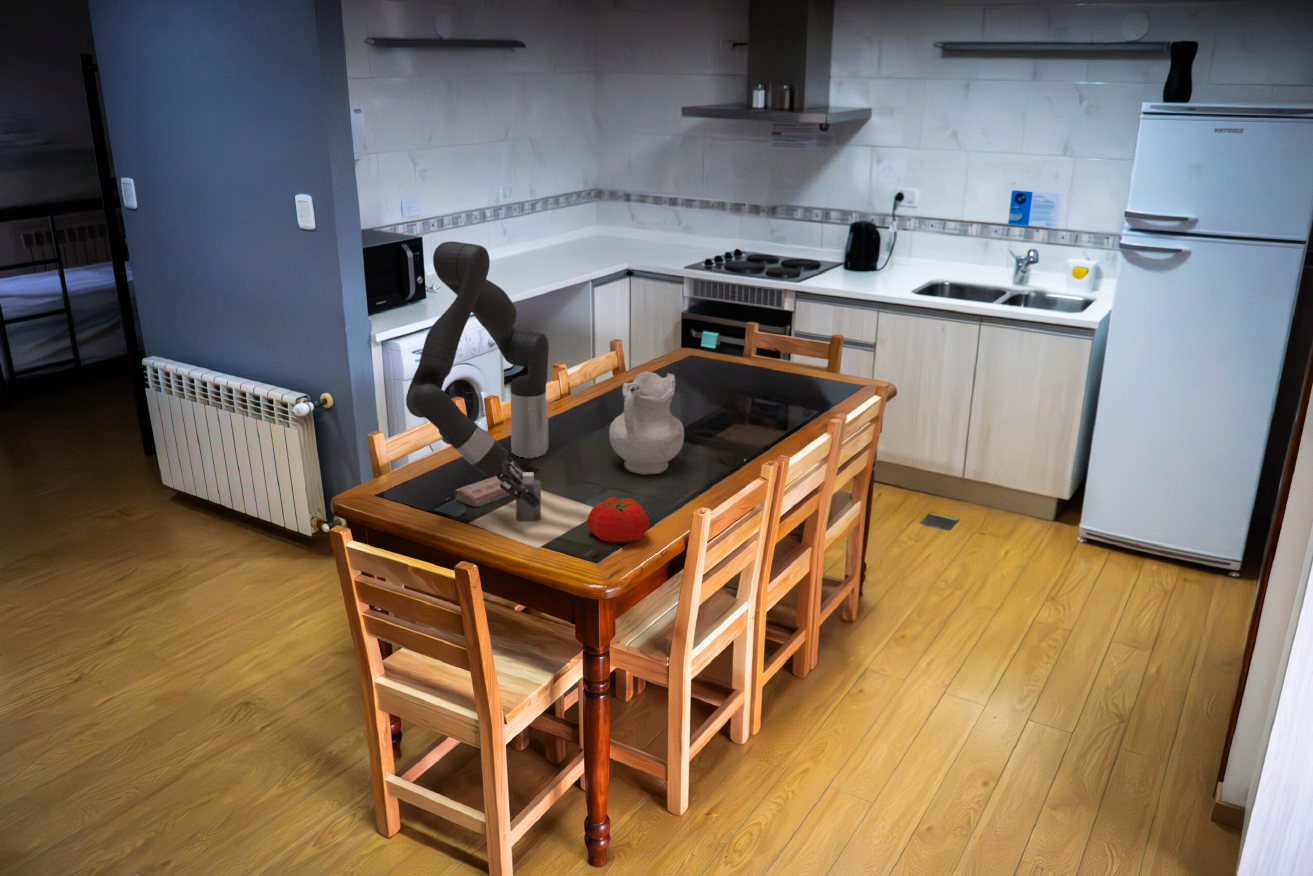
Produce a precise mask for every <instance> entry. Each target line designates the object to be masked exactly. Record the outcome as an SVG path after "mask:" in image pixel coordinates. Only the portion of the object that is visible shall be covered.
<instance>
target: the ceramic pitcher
mask: <svg viewBox="0 0 1313 876" xmlns="http://www.w3.org/2000/svg"><path fill="white" fill-rule="evenodd" d="M676 380H677V379H676V375H675V374H672V373H669V372H667V373H666V376H665V377H661V375H659V374H657V373H655V372H652V371H651V372H650V371H646V370H645V371H643V372H640V373H639V374H637V376H636V377H635V378H634V379H633V381H632V382H624V383H622V388H621V391H622V396H623V401H624V403H623V412H622V413H621V414H619V415H617V417H615V418H614V420H612V422H611V423H610V426H609V430H608V435H609V436H608V437H609V441H610V445H611V446H612V449H613V451H614V452H615V453H616V454H617V456H619V457H620V458H621V459H622V460H624V461H623V466H624V468H625V469H627V471H628V472H630V473H635V474H639V475H643V476H644V475H653V474H662V473H663V472H665V471H666V470H667V469H668V468H669V466H670V465H669V464H670V463H669V462H670V461H672V459H674V458H675V457H676V456H677V455H678V454H679V452H680V451H681V449H682V448H683V444H684V441H685V440H684V439H685V430H684V429H685V428H684V425H683V422H681V421H680V420H679V418H677V417H676V416H674V415H673V414H672V413H671V411H670V407H671V402H672V399H673V397H674V394H675V390H676Z"/></svg>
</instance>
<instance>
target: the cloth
mask: <svg viewBox="0 0 1313 876" xmlns="http://www.w3.org/2000/svg"><path fill="white" fill-rule="evenodd" d="M594 507H595V506H594ZM594 507H593V506H591V505H588V504H584V503H582V502H578V501H576V500H573V499H570V498H567V497H564V496H560V495H557V494H554V493H553V492H552V493H551V492H548V491H547V490H543V489H541V519H540V520H539V521H524V522H522V521H518V520H516V499H514V500H512V501H510V502H509V503H506V504H504V505H502V506H501V507H498V508H496V509H494V510H493V511H490V512H488V513H486V514H485V515H482V516H480V517H478V518H476V519H474V520H471V521H470V522H468V524H470V525H472V526H476V527H477V528H480V529H484V530H486V531H489V532H492V533H494V534H498V535H500V536H501V537H506V538H508V539H511V540H514V541H516V542H519V543H522V544H524V545H527V546H530V547H533V548H536V549H539V548H541V547H543V546H544V545H547V544H548V543H549V542H551V541H553V540H555V539H557V538H558V537H561V536H563V535H564V534H566V533H568V532H569V531H572V530H573V529H575V528H576V527H578V526H579V525H581V524H583V523H585V522H587V520H588V516H589V513H590V512H591V510H592V509H593V508H594Z"/></svg>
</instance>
